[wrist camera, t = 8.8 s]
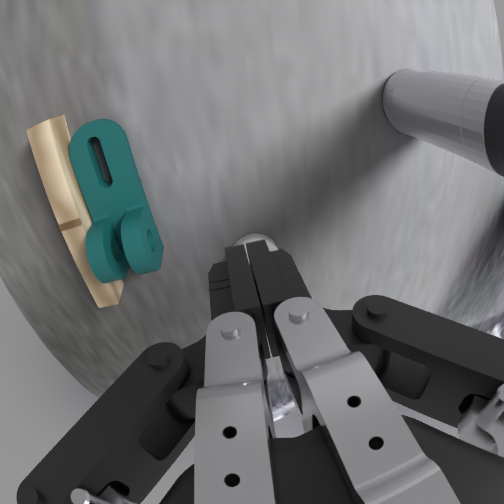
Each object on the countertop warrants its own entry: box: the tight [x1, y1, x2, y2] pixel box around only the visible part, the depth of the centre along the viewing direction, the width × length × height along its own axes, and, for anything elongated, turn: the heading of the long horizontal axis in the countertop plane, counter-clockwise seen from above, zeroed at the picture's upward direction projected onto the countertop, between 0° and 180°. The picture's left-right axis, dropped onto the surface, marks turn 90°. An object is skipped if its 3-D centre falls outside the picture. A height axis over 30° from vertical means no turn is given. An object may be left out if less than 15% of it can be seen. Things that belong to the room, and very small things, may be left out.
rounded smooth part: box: [233, 233, 278, 265], centre depth 40 cm, size 6×6×4 cm
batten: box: [27, 115, 124, 308], centre depth 32 cm, size 3×24×5 cm, turn 9°
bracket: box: [69, 119, 164, 283], centre depth 31 cm, size 18×7×8 cm, turn 11°
